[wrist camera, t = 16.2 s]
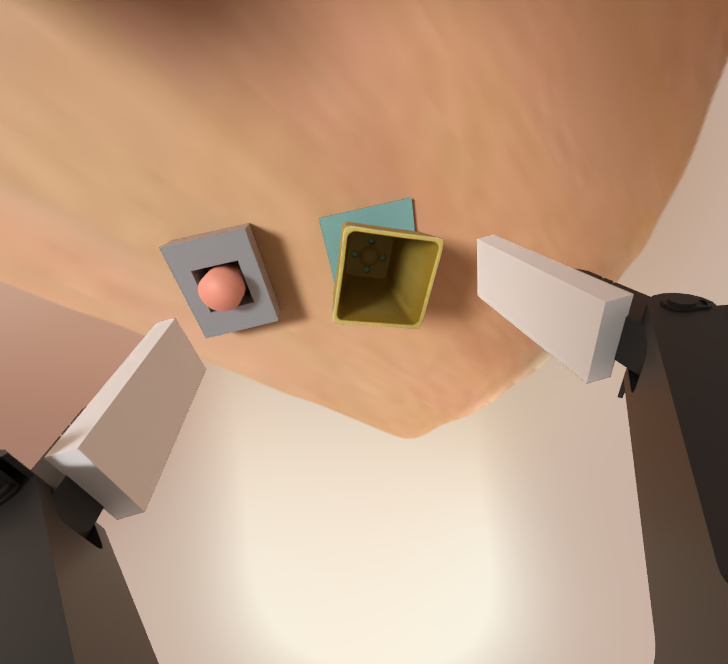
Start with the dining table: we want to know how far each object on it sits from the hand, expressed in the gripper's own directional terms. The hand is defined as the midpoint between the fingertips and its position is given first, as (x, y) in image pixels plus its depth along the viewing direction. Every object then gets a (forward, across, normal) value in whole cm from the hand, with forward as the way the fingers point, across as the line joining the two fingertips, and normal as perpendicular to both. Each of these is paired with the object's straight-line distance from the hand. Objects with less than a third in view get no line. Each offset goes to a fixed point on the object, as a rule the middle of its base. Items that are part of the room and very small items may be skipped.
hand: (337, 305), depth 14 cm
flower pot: (+22, +5, -5) cm, 23 cm away
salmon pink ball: (+22, -11, -4) cm, 25 cm away
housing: (+22, -11, -4) cm, 25 cm away
